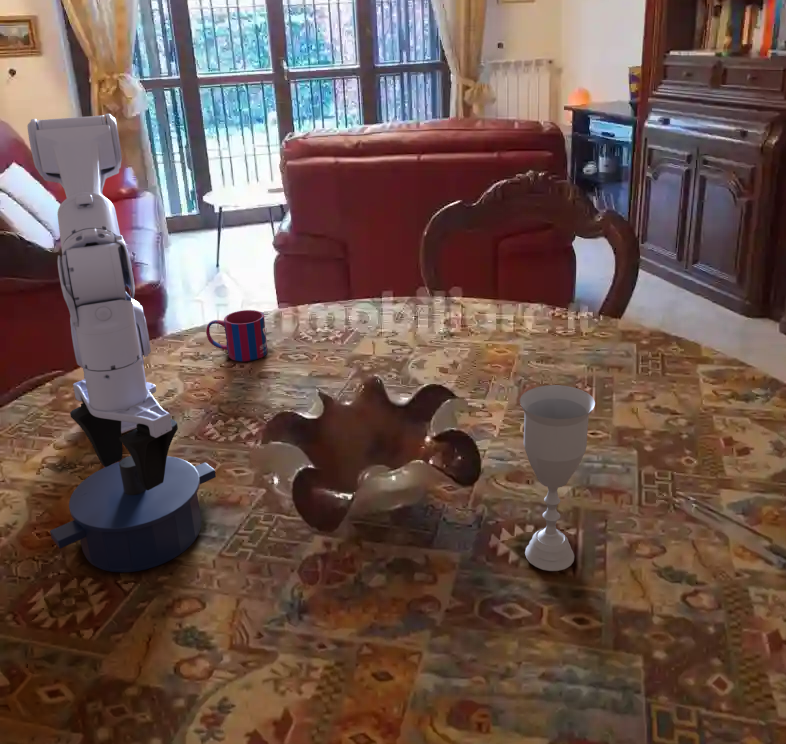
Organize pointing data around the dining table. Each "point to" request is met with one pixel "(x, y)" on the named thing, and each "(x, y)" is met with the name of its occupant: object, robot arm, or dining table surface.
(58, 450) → the dining table surface
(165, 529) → the pot
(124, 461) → the lid
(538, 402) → the chalice
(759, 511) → the dining table surface
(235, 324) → the mug
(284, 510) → the dining table surface
